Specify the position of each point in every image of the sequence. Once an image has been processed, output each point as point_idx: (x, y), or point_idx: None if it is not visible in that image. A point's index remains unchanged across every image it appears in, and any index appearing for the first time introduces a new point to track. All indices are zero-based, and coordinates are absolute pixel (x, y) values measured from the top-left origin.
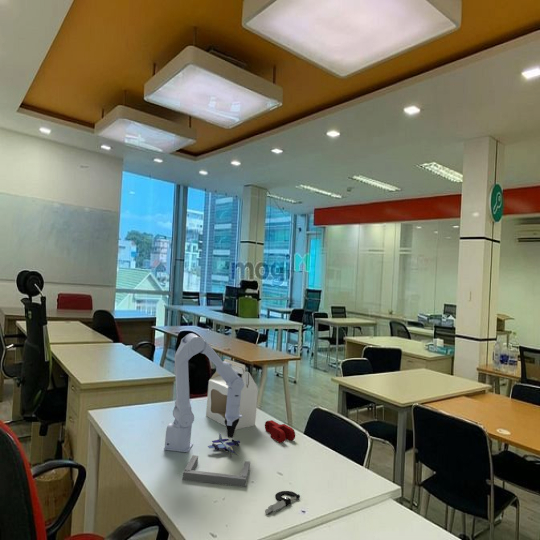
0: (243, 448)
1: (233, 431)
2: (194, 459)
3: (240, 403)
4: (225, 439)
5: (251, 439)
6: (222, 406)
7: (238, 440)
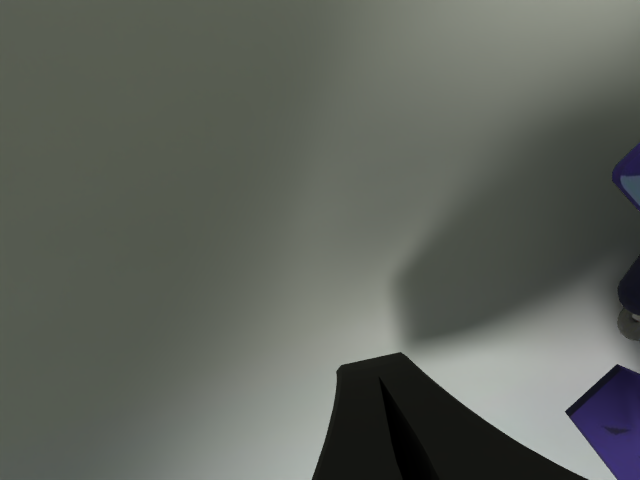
0: (557, 29)
1: (480, 437)
2: None
3: None
4: (627, 429)
5: (33, 7)
6: None
7: (625, 171)
